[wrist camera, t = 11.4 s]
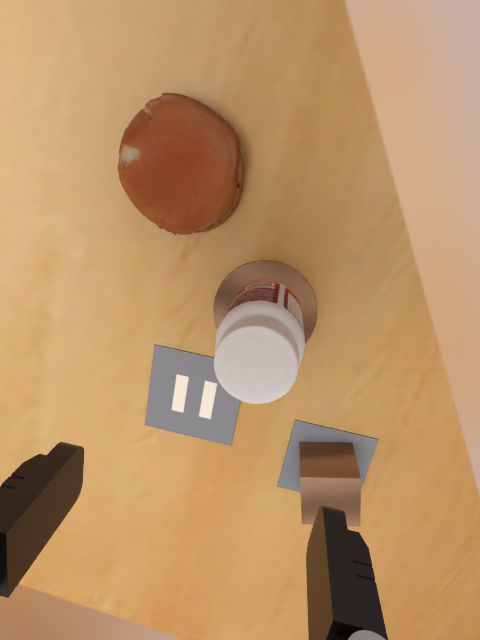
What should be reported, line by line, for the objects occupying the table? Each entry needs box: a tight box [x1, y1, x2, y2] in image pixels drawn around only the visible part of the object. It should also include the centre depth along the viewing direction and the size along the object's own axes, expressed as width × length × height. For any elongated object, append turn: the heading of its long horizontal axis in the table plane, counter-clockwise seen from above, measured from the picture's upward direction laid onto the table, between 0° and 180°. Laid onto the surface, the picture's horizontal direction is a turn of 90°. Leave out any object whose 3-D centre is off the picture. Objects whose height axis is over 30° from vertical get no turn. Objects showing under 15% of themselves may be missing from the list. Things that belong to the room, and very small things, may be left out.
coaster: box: [214, 261, 317, 343], centre depth 34 cm, size 9×9×1 cm
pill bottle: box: [214, 280, 305, 404], centre depth 29 cm, size 6×6×11 cm
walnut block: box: [299, 442, 361, 526], centre depth 36 cm, size 5×5×5 cm
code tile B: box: [277, 420, 378, 492], centre depth 38 cm, size 8×8×1 cm
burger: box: [118, 93, 244, 235], centre depth 30 cm, size 10×9×5 cm
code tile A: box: [145, 345, 240, 446], centre depth 38 cm, size 9×9×1 cm
